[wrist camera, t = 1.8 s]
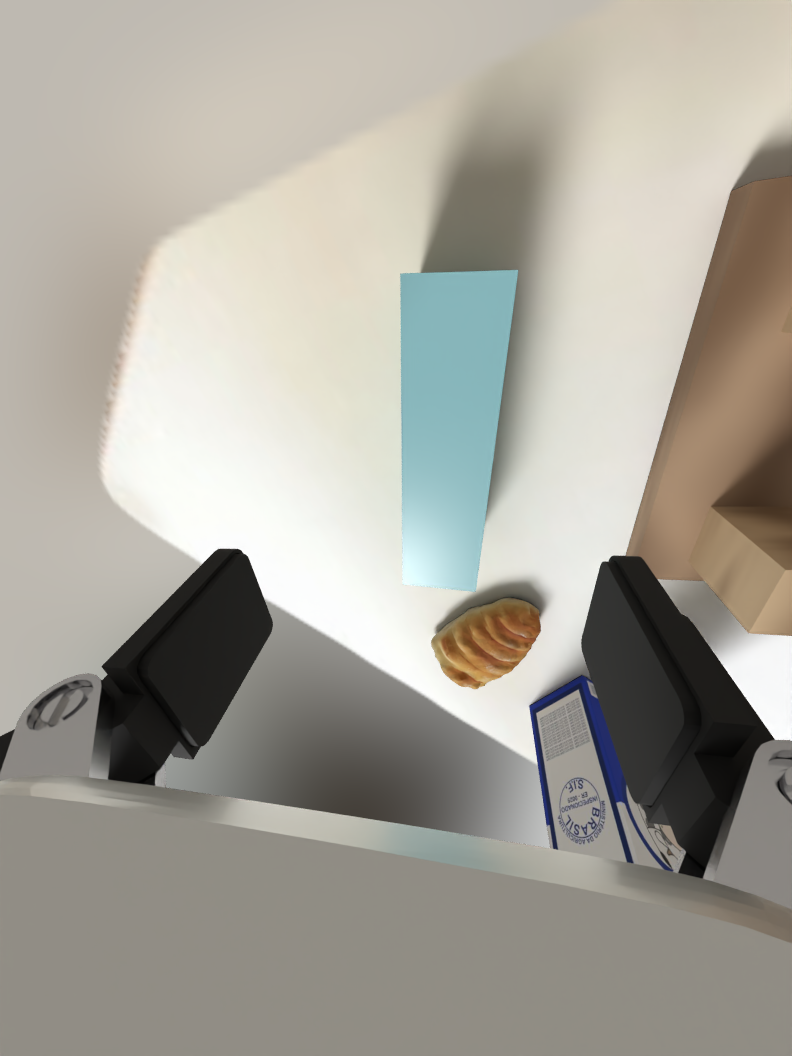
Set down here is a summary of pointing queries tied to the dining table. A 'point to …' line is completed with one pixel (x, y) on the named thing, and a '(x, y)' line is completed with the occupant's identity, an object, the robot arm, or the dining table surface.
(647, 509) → the display stand
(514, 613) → the pastry
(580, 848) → the milk carton
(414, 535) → the pale blue rectangular prism
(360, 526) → the dining table surface
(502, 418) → the dining table surface
